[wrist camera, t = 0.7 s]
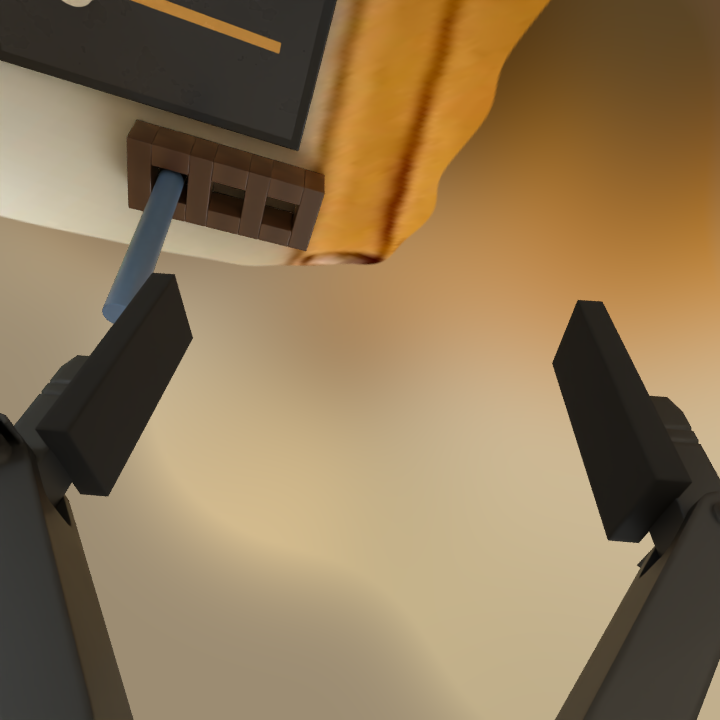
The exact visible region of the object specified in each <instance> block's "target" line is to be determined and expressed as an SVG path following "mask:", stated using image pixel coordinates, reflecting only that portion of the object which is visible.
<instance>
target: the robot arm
mask: <svg viewBox="0 0 720 720" xmlns="http://www.w3.org/2000/svg"><path fill="white" fill-rule="evenodd" d="M192 339H193V337H192V333H191V330H190V326H189V323H188V319H187V316H186V312H185V309H184V305H183V302H182V298H181V295H180V292H179V289H178V284H177V281H176V278H175V274H161V273H152V274H151V275H150V276H149V278H148V279H147V280H146V282H145V283H144V284H143V286H142V287H141V288H140V290H139V291H138V292H137V294H136V295H135V296H134V298H133V299H132V300H131V302H130V303H129V304H128V306H127V307H126V308H125V310H124V311H123V312H122V314H121V315H120V316H119V318H118V319H117V320H116V322H115V323H114V324H113V326H112V327H111V328H110V330H109V331H108V332H107V334H106V335H105V336H104V338H103V339H102V340H101V342H100V343H99V344H98V345H97V347H96V348H95V350H94V351H93V352H92V353H91V355H90V356H80V355H77V356H76V357H74V358H73V359H71V360H70V361H69V362H68V363H66V364H64V365H63V366H62V367H61V368H60V369H59V370H58V371H57V373H56V374H55V375H54V376H53V378H52V379H51V380H50V383H48V384H47V385H46V386H45V388H44V389H43V390H42V394H39V395H38V396H37V398H36V399H35V400H34V402H33V403H32V404H31V405H30V407H29V408H28V409H27V410H26V411H25V413H24V414H23V415H22V417H21V418H20V419H19V420H18V422H17V423H16V424H15V425H14V426H13V424H12V423H11V422H10V420H9V419H8V418H7V417H6V415H4V414H1V413H0V720H133V716H132V713H131V710H130V706H129V703H128V699H127V696H126V693H125V689H124V686H123V682H122V679H121V676H120V672H119V669H118V666H117V663H116V659H115V656H114V652H113V649H112V645H111V642H110V638H109V635H108V632H107V628H106V625H105V621H104V618H103V615H102V611H101V608H100V605H99V601H98V598H97V594H96V591H95V588H94V584H93V581H92V577H91V574H90V571H89V568H88V564H87V561H86V557H85V554H84V550H83V547H82V543H81V540H80V537H79V533H78V530H77V527H76V523H75V520H74V517H73V513H72V510H71V506H70V503H69V500H68V499H67V497H66V496H65V493H66V491H67V489H68V488H69V486H70V484H71V483H73V484H74V486H75V487H76V488H77V490H78V491H79V493H80V494H86V495H96V496H109V494H110V492H111V490H112V488H113V486H114V485H115V483H116V481H117V479H118V477H119V475H120V473H121V471H122V469H123V468H124V466H125V464H126V462H127V460H128V458H129V457H130V454H131V453H132V451H133V449H134V447H135V445H136V443H137V441H138V440H139V438H140V436H141V434H142V432H143V430H144V428H145V427H146V425H147V423H148V421H149V419H150V417H151V415H152V414H153V412H154V410H155V408H156V406H157V404H158V402H159V400H160V399H161V397H162V394H163V393H164V391H165V389H166V387H167V385H168V384H169V381H170V380H171V378H172V376H173V374H174V372H175V371H176V368H177V367H178V365H179V363H180V361H181V359H182V357H183V355H184V354H185V352H186V350H187V348H188V346H189V344H190V342H191V341H192ZM552 364H553V367H554V370H555V373H556V377H557V380H558V383H559V386H560V390H561V393H562V396H563V399H564V402H565V405H566V408H567V411H568V415H569V418H570V421H571V425H572V428H573V431H574V434H575V437H576V440H577V443H578V447H579V450H580V453H581V456H582V459H583V462H584V466H585V469H586V472H587V475H588V478H589V482H590V485H591V488H592V491H593V494H594V497H595V501H596V504H597V507H598V510H599V513H600V517H601V519H602V523H603V526H604V529H605V532H606V535H607V539H608V540H612V541H623V542H633V543H639V542H640V541H641V540H642V539H643V538H644V536H645V535H646V534H647V533H648V532H650V534H651V537H652V540H653V542H654V544H655V547H654V548H653V549H652V550H651V551H650V552H649V553H648V554H647V555H646V556H645V557H644V558H643V559H642V560H641V562H640V563H639V564H638V565H637V566H639V567H640V570H639V572H638V574H637V575H636V577H635V579H634V581H633V582H632V584H631V586H630V588H629V589H628V591H627V593H626V595H625V596H624V598H623V600H622V602H621V604H620V605H619V607H618V609H617V611H616V612H615V614H614V616H613V618H612V620H611V622H610V623H609V625H608V627H607V628H606V630H605V632H604V634H603V636H602V637H601V639H600V641H599V643H598V644H597V647H596V648H595V650H594V652H593V653H592V655H591V657H590V659H589V660H588V662H587V664H586V666H585V667H584V670H583V671H582V673H581V675H580V676H579V678H578V680H577V682H576V683H575V685H574V687H573V689H572V691H571V692H570V694H569V696H568V698H567V700H566V701H565V703H564V705H563V707H562V708H561V710H560V712H559V714H558V715H557V717H556V719H555V720H697V717H698V715H699V712H700V709H701V707H702V704H703V701H704V699H705V696H706V694H707V691H708V688H709V686H710V683H711V681H712V678H713V675H714V672H715V670H716V667H717V665H718V662H719V659H720V479H719V477H718V476H717V473H716V471H715V470H714V468H713V466H712V464H711V462H710V461H709V459H708V457H707V455H706V453H705V451H704V450H703V448H702V446H701V444H698V439H697V437H696V435H695V433H694V432H693V431H691V426H690V424H689V422H688V421H687V419H686V417H685V415H684V414H683V412H682V411H681V410H680V409H679V408H678V407H677V406H676V405H675V404H674V403H673V402H672V401H671V400H670V399H669V398H667V397H658V396H649V394H648V392H647V390H646V388H645V386H644V384H643V382H642V380H641V378H640V376H639V374H638V372H637V370H636V368H635V366H634V364H633V362H632V360H631V358H630V356H629V354H628V352H627V350H626V348H625V346H624V344H623V342H622V340H621V338H620V336H619V334H618V332H617V330H616V328H615V326H614V324H613V322H612V320H611V318H610V316H609V314H608V312H607V310H606V308H605V306H604V304H603V302H600V301H585V300H584V301H583V300H578V301H577V303H576V306H575V308H574V311H573V313H572V316H571V318H570V320H569V323H568V326H567V328H566V330H565V333H564V335H563V338H562V340H561V343H560V345H559V348H558V350H557V353H556V356H555V358H554V360H553V363H552Z"/></svg>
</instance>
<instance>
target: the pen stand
mask: <svg viewBox="0 0 720 720" xmlns="http://www.w3.org/2000/svg"><path fill="white" fill-rule="evenodd" d="M159 167H160V168H164V169H168V170H171V171H175V172H179V173H182V174H186V175H188V185H187V184H184V186H183V188H182V191H181V194H180V197H179V200H178V203H177V206H176V209H175V211H174V214H173V217H172V219H176V220H180V221H185V222H189V223H193V224H197V225H201V226H206V227H209V228H213V229H217V230H221V231H226V232H230V233H234V234H238V235H242V236H246V237H250V238H254V239H259V240H263V241H267V242H271V243H275V244H279V245H283V246H288V247H291V248H295V249H299V250H303V251H306V250H307V247H308V244H309V241H310V238H311V235H312V231H313V228H314V225H315V222H316V219H317V216H318V213H319V210H320V206H321V203H322V200H323V197H324V194H325V176H324V175H322V174H319V173H315V172H312V171H309V170H305V169H302V168H299V167H296V166H292V165H289V164H286V163H282V162H279V161H275V160H272V159H268V158H265V157H262V156H258V155H255V154H251V153H248V152H245V151H241V150H238V149H234V148H231V147H228V146H224V145H221V144H219V145H218V143H214V142H211V141H207V140H204V139H201V138H196V137H194V136H191V135H188V134H184V133H181V132H177V131H174V130H171V129H167V128H164V127H159V126H156V125H153V124H150V123H146V122H143V121H139V120H136V121H135V123H134V125H133V127H132V129H131V131H130V132H129V134H128V136H127V169H128V206H129V208H132V209H136V210H140V211H144V209H145V207H146V204H147V202H148V200H149V197H150V195H151V192H152V190H153V188H154V185H155V183H156V181H157V178H158V176H159ZM214 182H216V183H219V184H223V185H227V186H230V187H234V188H238V189H241V190H246V191H245V196H244V200H243V199H239V198H235V197H232V196H228V195H224V194H220V193H217V192H213V186H214ZM267 197H270V198H274V199H278V200H281V201H285V202H289V203H292V204H296V205H295V208H294V212H293V213H291V212H288V211H284V210H280V209H276V208H273V207H269V206H265V203H266V198H267Z"/></svg>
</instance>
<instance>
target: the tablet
mask: <svg viewBox="0 0 720 720" xmlns="http://www.w3.org/2000/svg"><path fill="white" fill-rule="evenodd" d="M336 2H337V0H92V1H91V2H90V3H89V4H88V5H86V6H83V7H75V6H71V5H69V4H67V3H65V2H64V1H62V0H0V60H1V61H5V62H8V63H11V64H15V65H18V66H21V67H24V68H28V69H31V70H34V71H37V72H41V73H44V74H47V75H51V76H54V77H57V78H60V79H64V80H67V81H70V82H73V83H77V84H80V85H83V86H87V87H90V88H93V89H96V90H100V91H103V92H106V93H109V94H113V95H116V96H119V97H123V98H126V99H129V100H132V101H136V102H139V103H142V104H145V105H149V106H152V107H155V108H159V109H162V110H165V111H168V112H172V113H175V114H178V115H181V116H185V117H188V118H191V119H195V120H198V121H201V122H204V123H208V124H211V125H214V126H218V127H221V128H224V129H227V130H231V131H234V132H237V133H240V134H244V135H247V136H250V137H254V138H257V139H260V140H263V141H267V142H270V143H273V144H276V145H280V146H283V147H286V148H290V149H293V150H296V151H298V150H299V147H300V143H301V139H302V135H303V131H304V128H305V124H306V120H307V116H308V112H309V108H310V104H311V100H312V96H313V92H314V88H315V84H316V80H317V76H318V73H319V69H320V65H321V61H322V57H323V53H324V49H325V45H326V41H327V37H328V33H329V29H330V25H331V21H332V17H333V14H334V10H335V6H336Z"/></svg>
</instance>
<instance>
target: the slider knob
mask: <svg viewBox="0 0 720 720" xmlns="http://www.w3.org/2000/svg"><path fill="white" fill-rule="evenodd" d="M62 1H64V2H65V3H67V4H69V5H71V6H75V7H83V6H86V5H88V4H89V3H90V2H91V1H92V0H62Z"/></svg>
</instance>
